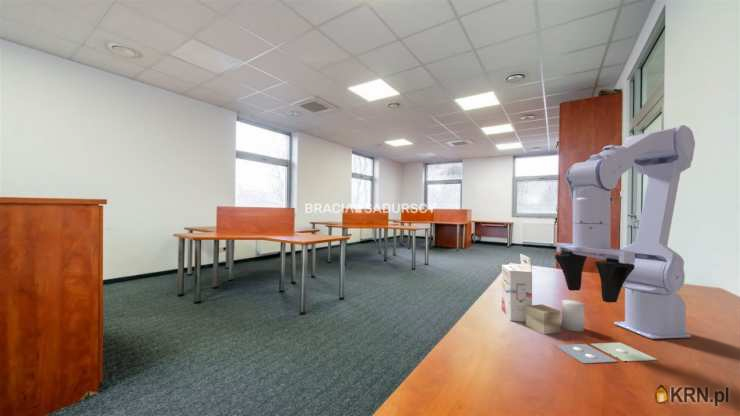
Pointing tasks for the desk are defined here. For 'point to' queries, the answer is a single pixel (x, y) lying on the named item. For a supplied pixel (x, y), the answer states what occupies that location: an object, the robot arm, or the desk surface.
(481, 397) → the desk surface
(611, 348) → the pad one
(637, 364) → the desk surface
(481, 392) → the desk surface
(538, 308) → the birch block
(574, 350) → the pad two
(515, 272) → the ink cartridge box
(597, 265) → the robot arm
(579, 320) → the white capsule cylinder
